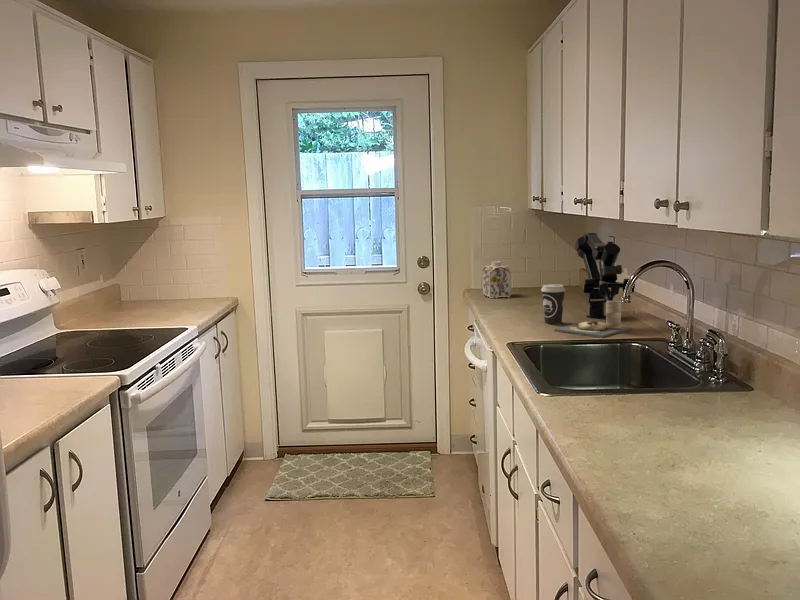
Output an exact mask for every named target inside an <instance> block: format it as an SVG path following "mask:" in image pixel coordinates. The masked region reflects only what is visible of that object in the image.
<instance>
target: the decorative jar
mask: <svg viewBox="0 0 800 600" xmlns="http://www.w3.org/2000/svg"><path fill="white" fill-rule="evenodd" d="M511 273H512V271H511V269H510V267H509V266H508V265H506V264H502V262H501V261H498V260H497V261H495V260H494V261H491V264H488V265H485V266H484V267H483V270H482V295H483V294H485V295H487V296H489V297H496V296H511V297H512V274H511Z"/></svg>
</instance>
